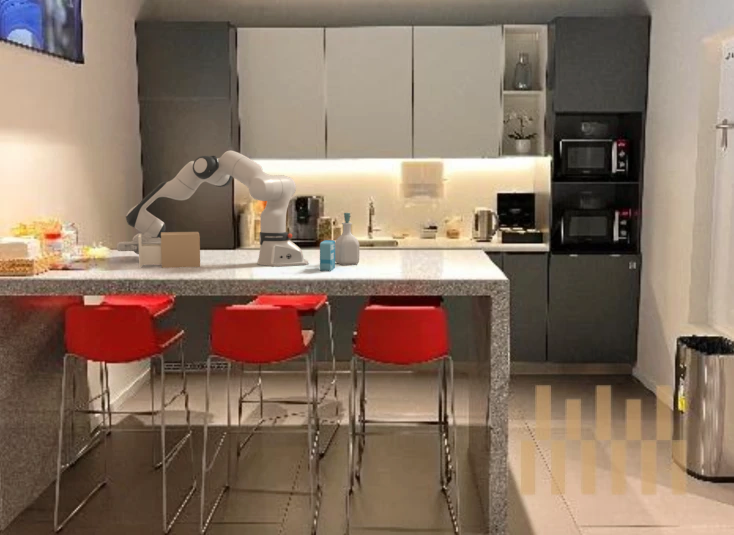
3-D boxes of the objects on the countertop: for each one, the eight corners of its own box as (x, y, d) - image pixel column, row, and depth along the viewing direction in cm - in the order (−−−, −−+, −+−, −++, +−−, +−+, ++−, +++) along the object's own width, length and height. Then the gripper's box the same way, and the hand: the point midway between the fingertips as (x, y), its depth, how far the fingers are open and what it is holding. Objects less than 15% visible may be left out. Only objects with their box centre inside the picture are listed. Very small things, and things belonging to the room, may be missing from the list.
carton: (199, 263, 361) (198, 231, 359) (200, 266, 349) (199, 234, 347) (161, 264, 357) (160, 232, 355) (161, 267, 345) (160, 235, 343)
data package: (330, 271, 338) (330, 243, 337) (319, 271, 339) (319, 242, 337) (335, 267, 350) (335, 240, 348) (324, 267, 351) (324, 239, 349)
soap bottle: (340, 265, 357) (340, 213, 353) (333, 263, 365) (333, 212, 362) (360, 264, 360) (361, 213, 357) (353, 262, 369) (353, 211, 366)
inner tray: (177, 260, 363) (176, 232, 361) (178, 266, 347) (177, 236, 345) (139, 261, 359) (138, 232, 358) (138, 267, 343) (137, 236, 341)
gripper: (117, 238, 366) (115, 241, 353) (163, 237, 371) (164, 240, 358) (117, 252, 367) (116, 255, 354) (164, 251, 372) (164, 254, 359)
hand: (140, 248), depth 356 cm, fingers open, 3 cm apart
